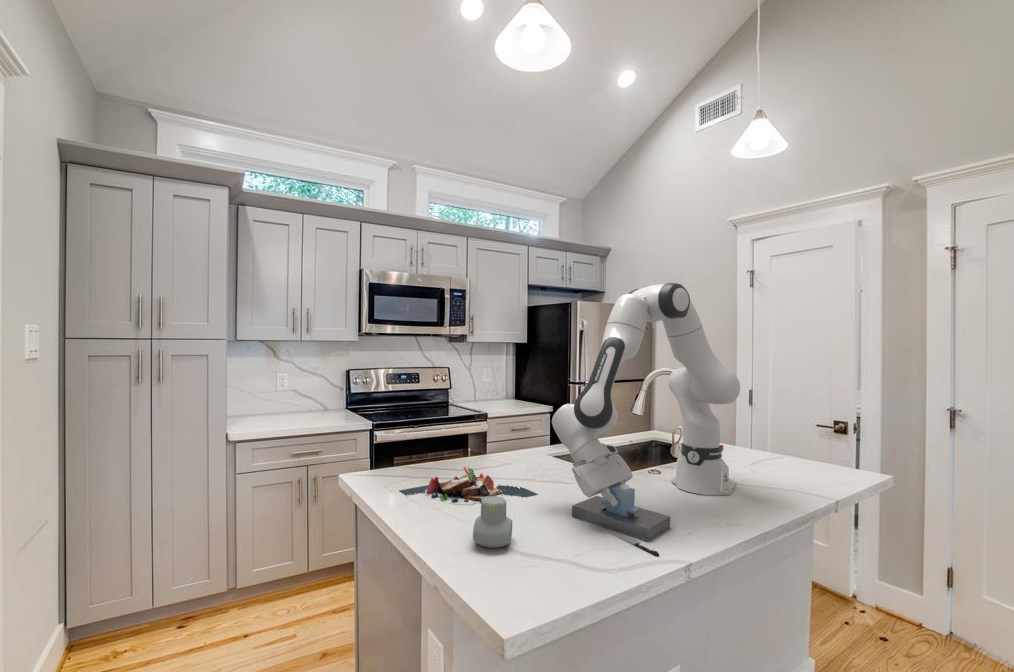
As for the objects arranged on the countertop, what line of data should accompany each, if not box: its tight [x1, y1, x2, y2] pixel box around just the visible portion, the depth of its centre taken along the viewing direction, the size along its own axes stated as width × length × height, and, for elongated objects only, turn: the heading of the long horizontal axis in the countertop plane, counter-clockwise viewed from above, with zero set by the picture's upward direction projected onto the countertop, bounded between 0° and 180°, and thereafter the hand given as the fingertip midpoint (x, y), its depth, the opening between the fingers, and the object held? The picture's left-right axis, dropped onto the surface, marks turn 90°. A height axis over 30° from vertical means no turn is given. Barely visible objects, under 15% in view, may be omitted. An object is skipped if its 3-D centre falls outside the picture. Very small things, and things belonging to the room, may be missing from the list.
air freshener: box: [472, 495, 513, 549], centre depth 115 cm, size 11×8×10 cm
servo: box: [601, 484, 641, 517], centre depth 130 cm, size 4×10×9 cm, turn 47°
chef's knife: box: [602, 529, 660, 557], centre depth 119 cm, size 19×1×3 cm
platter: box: [398, 466, 539, 506], centre depth 151 cm, size 35×27×9 cm
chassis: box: [571, 495, 671, 543], centre depth 130 cm, size 12×22×3 cm, turn 47°
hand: (622, 502), depth 129 cm, fingers closed on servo, 4 cm apart
